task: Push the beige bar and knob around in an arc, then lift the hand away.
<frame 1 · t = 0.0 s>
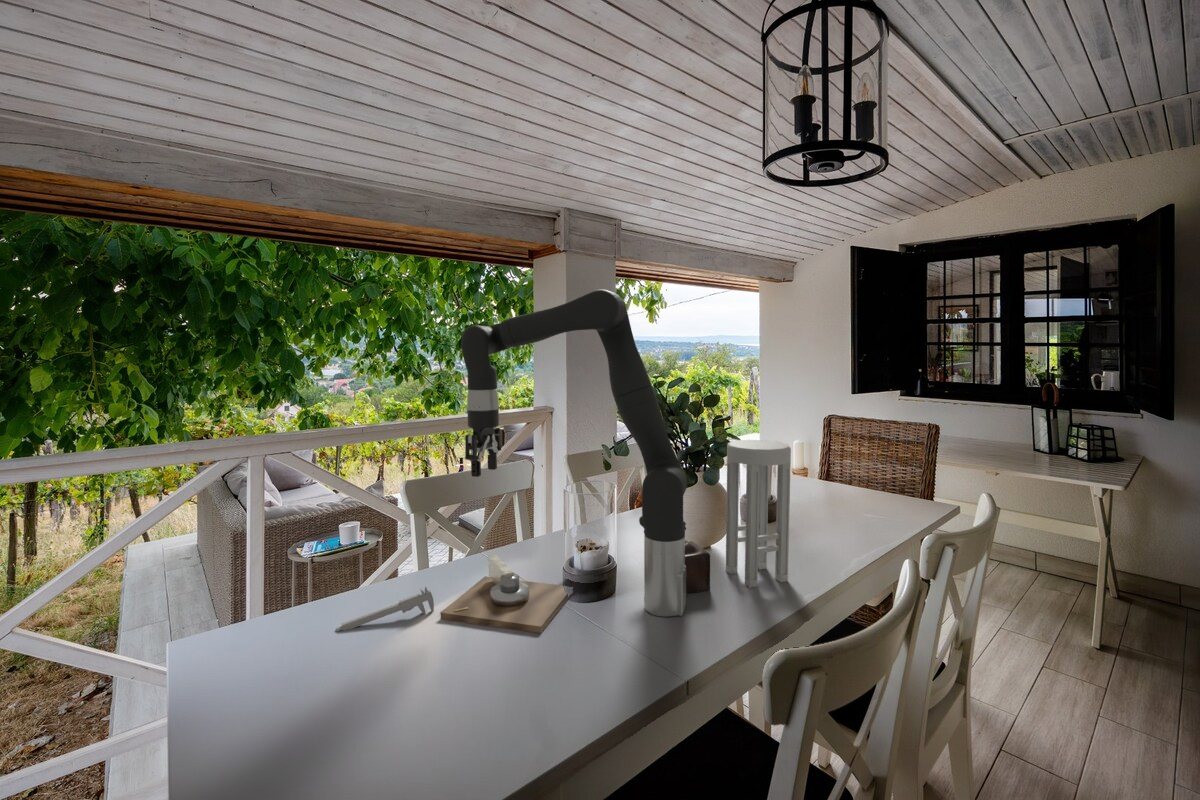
hand: (484, 472, 141), 29 cm above the table, fingers open, 8 cm apart
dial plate: (510, 605, 134), on the table
beige bar and knob: (503, 578, 137), point 5 cm above the table, hinge at -45.0°
dark brown wooden box: (673, 586, 144), on the table
stool: (756, 576, 150), on the table
caliper: (386, 622, 126), on the table
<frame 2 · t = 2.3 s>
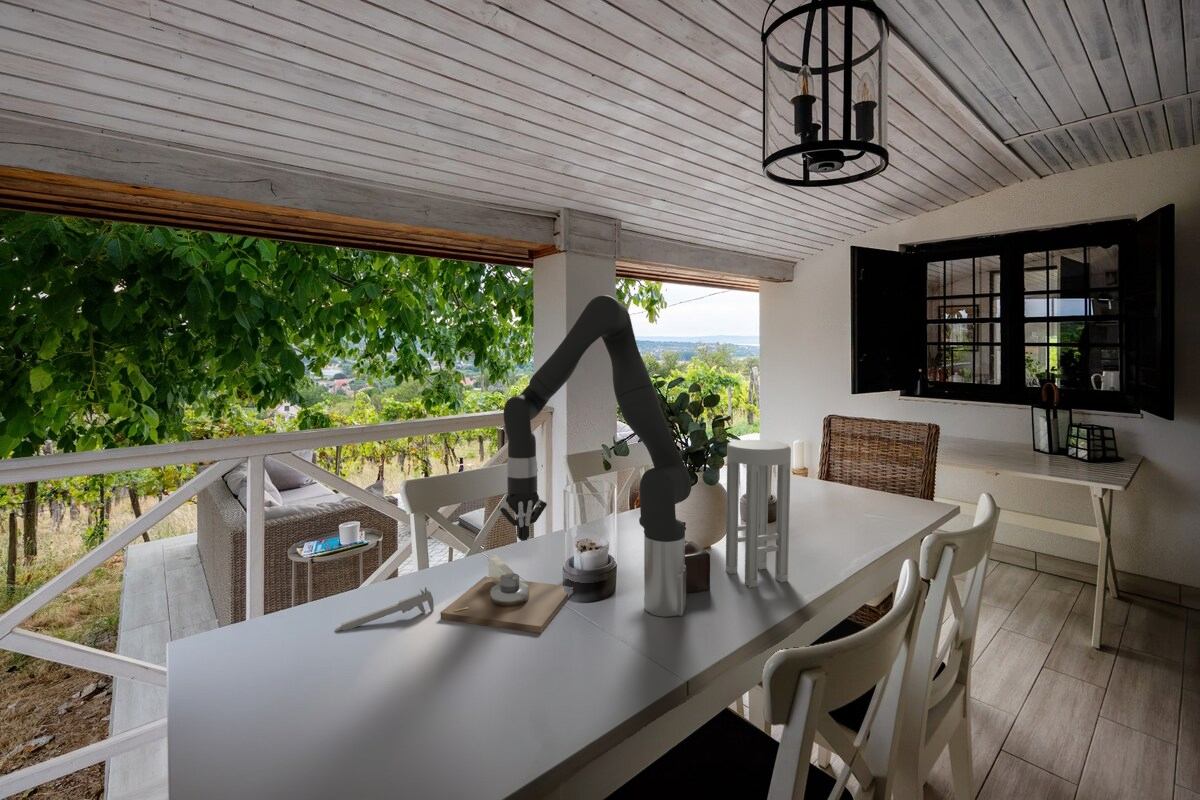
hand: (523, 539, 146), 11 cm above the table, fingers closed
nothing on the table moved.
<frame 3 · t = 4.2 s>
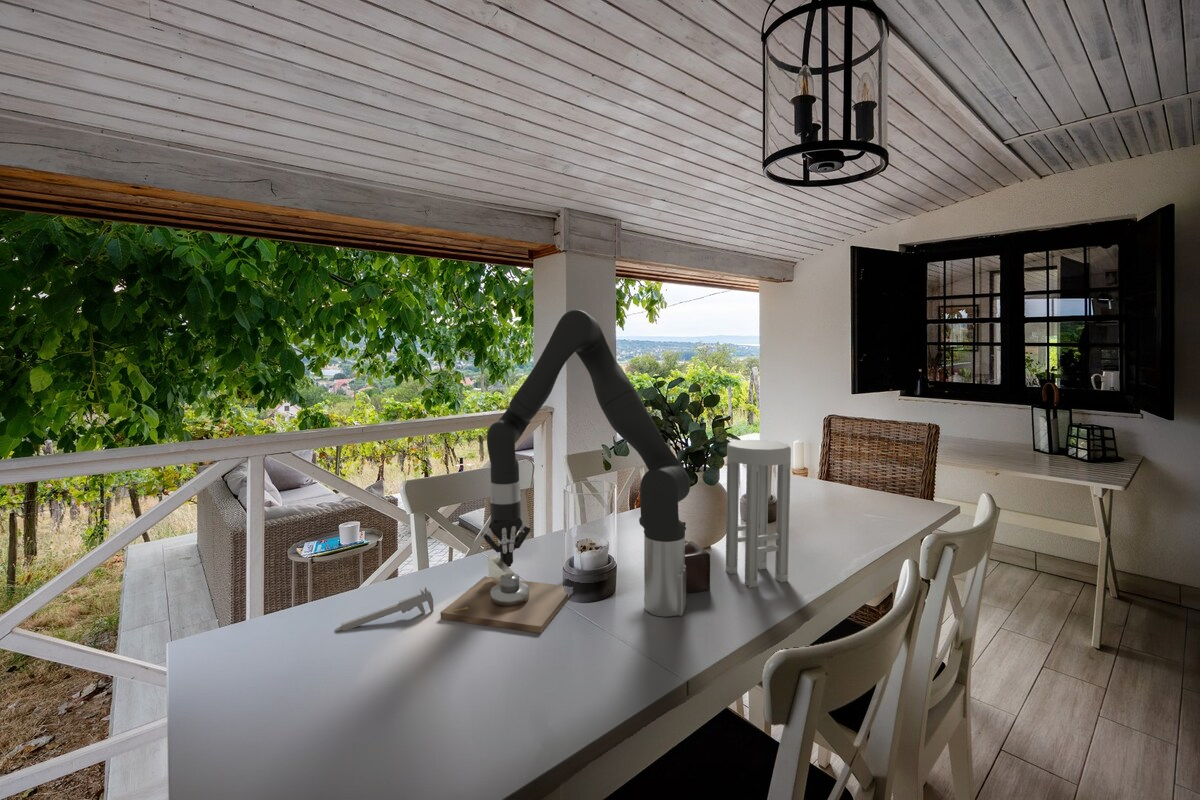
hand: (506, 566, 144), 5 cm above the table, fingers closed
beige bar and knob: (503, 578, 137), point 5 cm above the table, hinge at -45.0°, touching gripper
everything else where it was.
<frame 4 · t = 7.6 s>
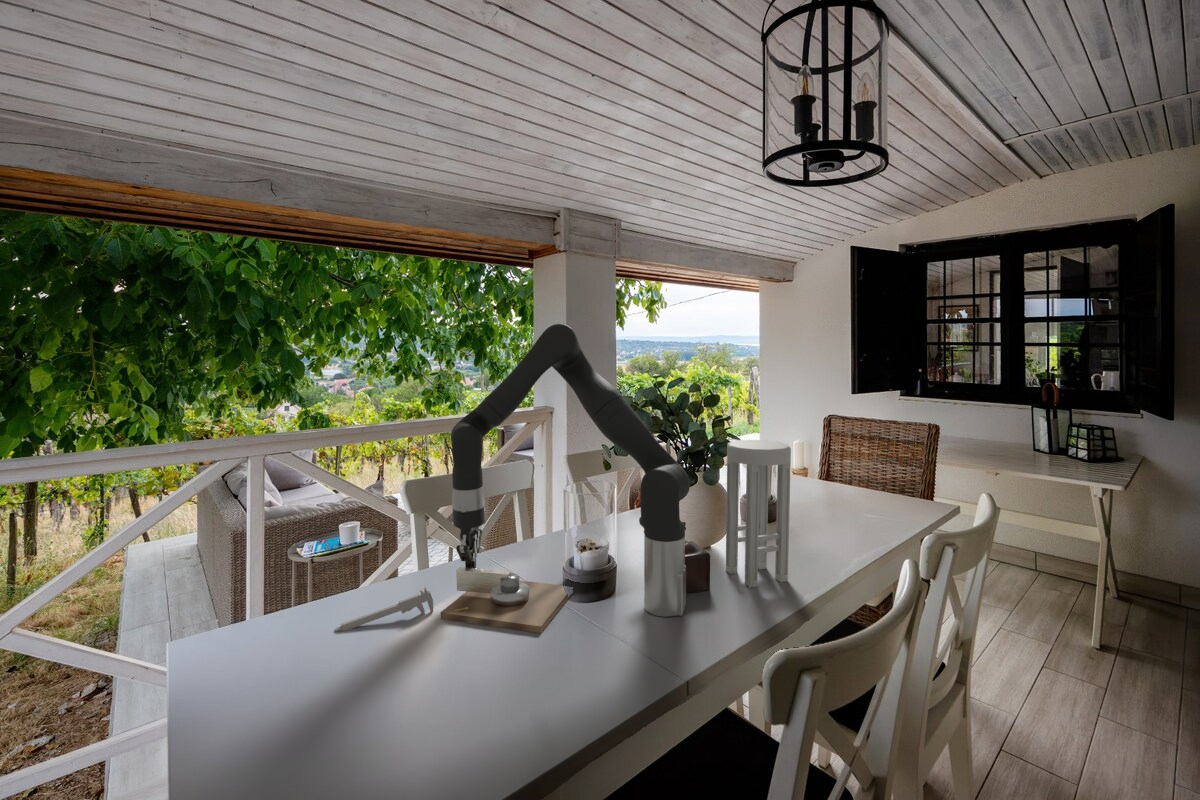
hand: (471, 574, 139), 5 cm above the table, fingers closed
beige bar and knob: (492, 583, 134), point 5 cm above the table, hinge at 3.7°, touching gripper
everything else where it was.
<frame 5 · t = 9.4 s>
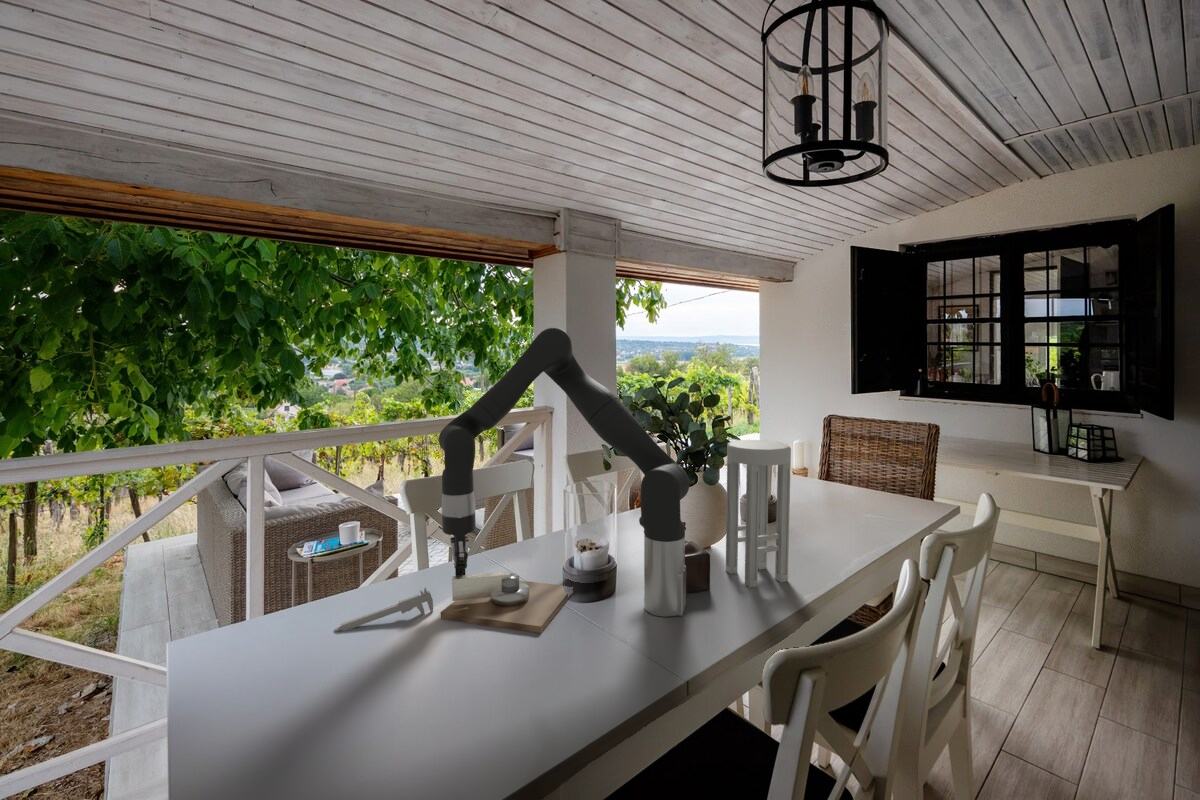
hand: (460, 582, 134), 5 cm above the table, fingers closed
beige bar and knob: (491, 586, 132), point 5 cm above the table, hinge at 28.5°, touching gripper
everything else where it was.
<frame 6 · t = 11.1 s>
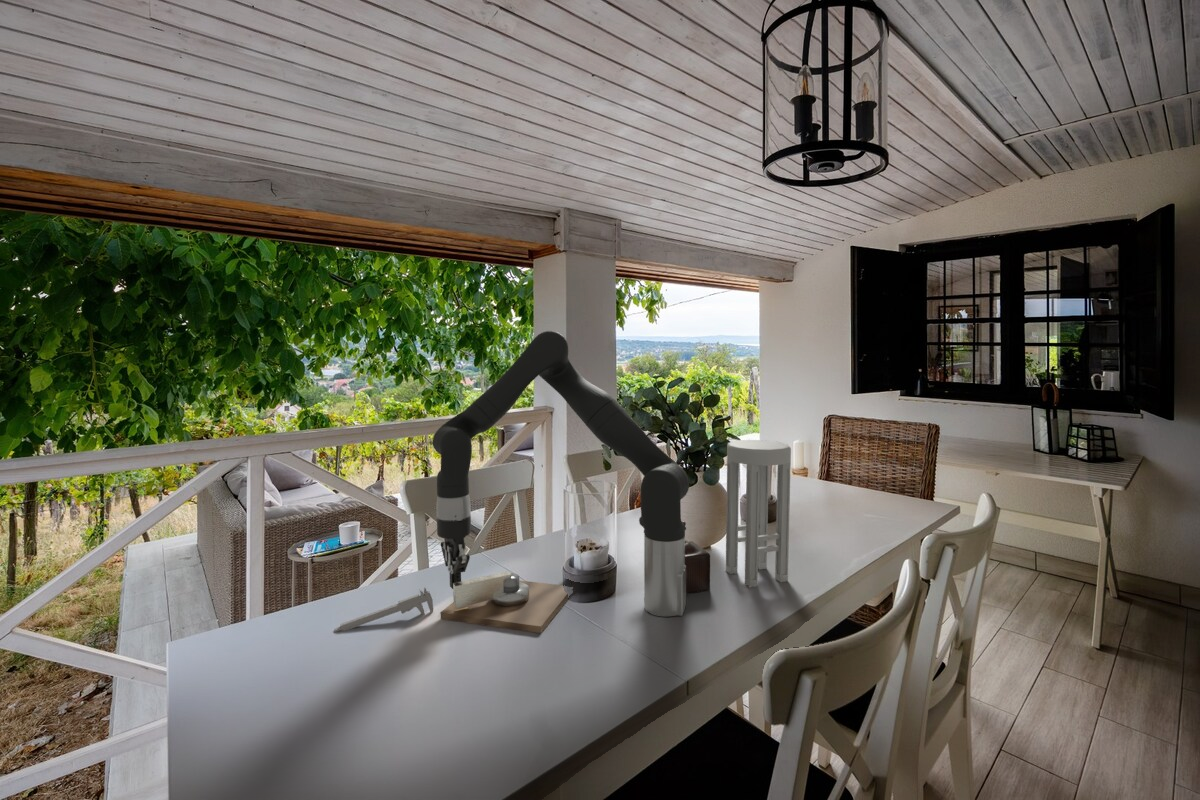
hand: (455, 587, 131), 5 cm above the table, fingers closed
beige bar and knob: (492, 589, 131), point 5 cm above the table, hinge at 46.4°
everything else where it was.
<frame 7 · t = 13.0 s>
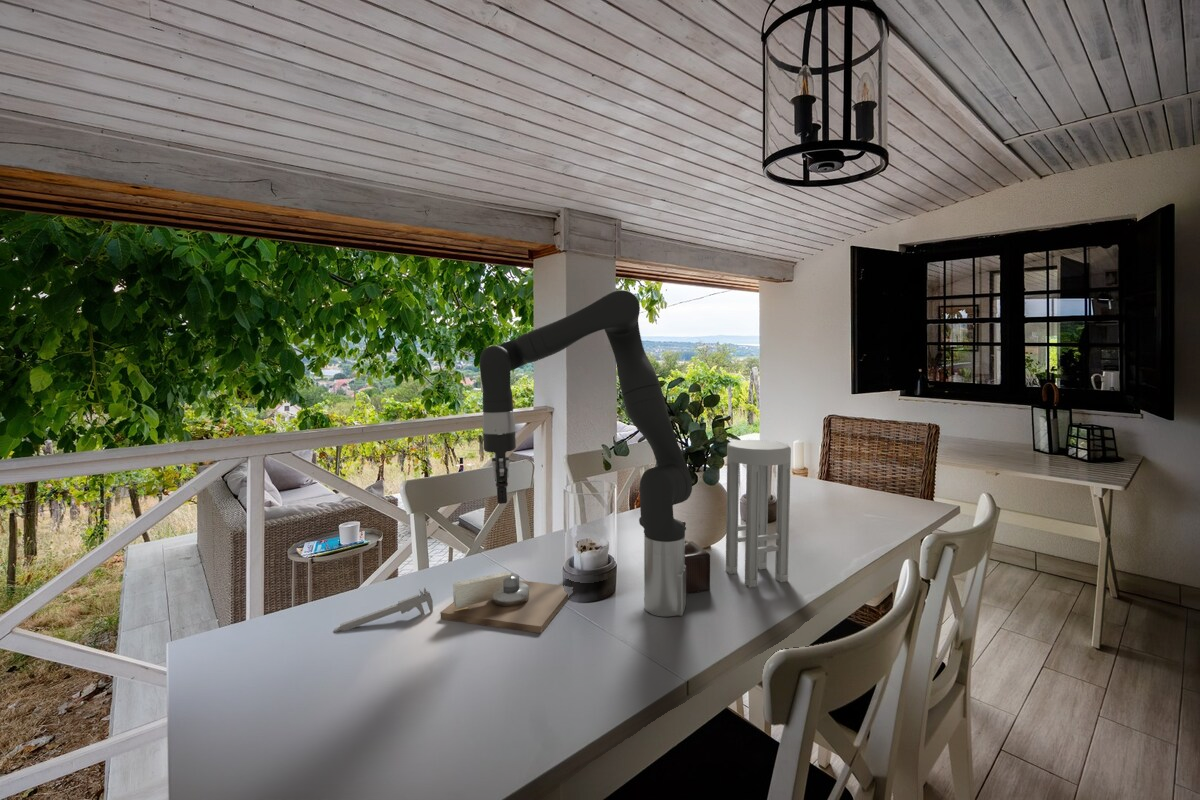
hand: (502, 502, 136), 23 cm above the table, fingers closed
nothing on the table moved.
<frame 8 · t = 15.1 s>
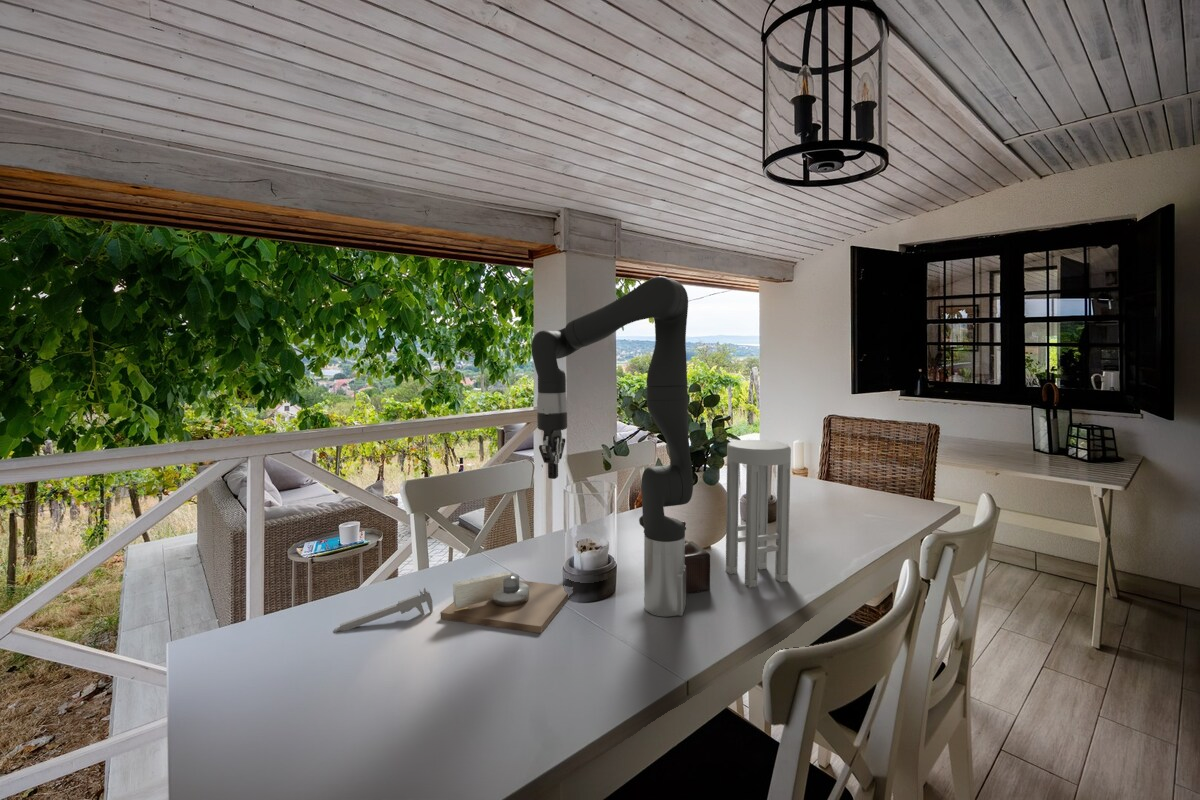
hand: (553, 478, 145), 27 cm above the table, fingers closed
nothing on the table moved.
at the end: beige bar and knob at +46° (first picture: -45°) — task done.
